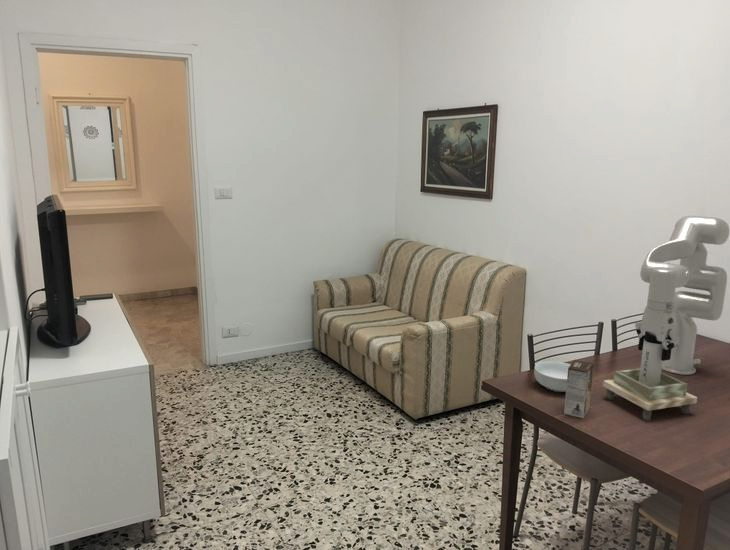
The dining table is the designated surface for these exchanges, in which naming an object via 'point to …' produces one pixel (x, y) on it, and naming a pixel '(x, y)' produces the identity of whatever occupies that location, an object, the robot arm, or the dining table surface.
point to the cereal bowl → (552, 375)
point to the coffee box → (578, 388)
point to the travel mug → (651, 361)
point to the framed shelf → (650, 392)
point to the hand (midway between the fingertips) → (653, 354)
